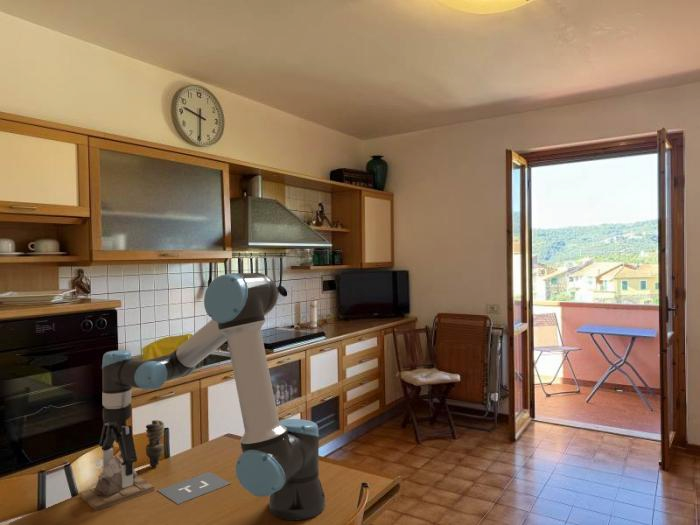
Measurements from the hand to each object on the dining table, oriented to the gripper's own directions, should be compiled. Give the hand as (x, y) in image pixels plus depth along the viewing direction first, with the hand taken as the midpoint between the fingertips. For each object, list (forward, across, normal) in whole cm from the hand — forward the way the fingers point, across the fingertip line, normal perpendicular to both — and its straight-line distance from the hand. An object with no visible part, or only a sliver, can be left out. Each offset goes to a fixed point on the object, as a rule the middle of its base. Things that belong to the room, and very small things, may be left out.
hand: (117, 478), depth 142 cm
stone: (+3, 0, 0) cm, 3 cm away
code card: (+4, -13, -17) cm, 22 cm away
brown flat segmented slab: (+4, 0, 0) cm, 4 cm away
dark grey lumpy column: (+4, +10, -16) cm, 19 cm away
